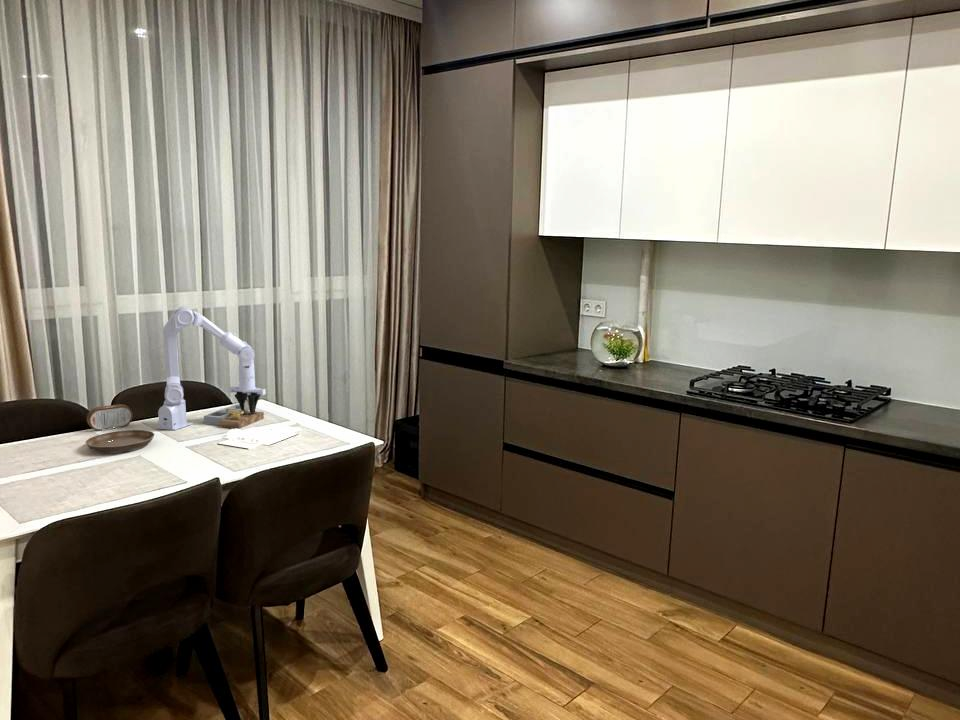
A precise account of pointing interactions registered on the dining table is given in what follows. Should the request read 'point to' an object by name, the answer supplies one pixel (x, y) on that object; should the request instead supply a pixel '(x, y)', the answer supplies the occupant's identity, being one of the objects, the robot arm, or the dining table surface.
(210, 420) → the rack
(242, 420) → the drill block
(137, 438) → the plant saucer
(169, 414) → the robot arm
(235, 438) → the white book
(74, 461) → the dining table surface
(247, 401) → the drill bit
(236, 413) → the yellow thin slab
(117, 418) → the tin
